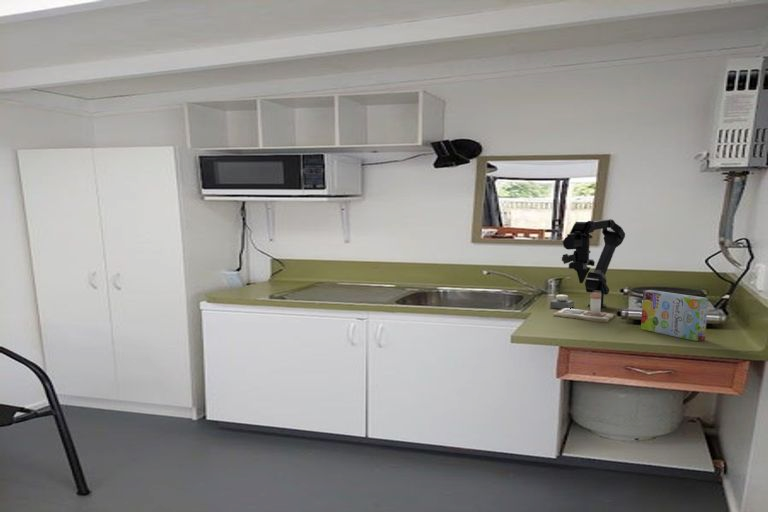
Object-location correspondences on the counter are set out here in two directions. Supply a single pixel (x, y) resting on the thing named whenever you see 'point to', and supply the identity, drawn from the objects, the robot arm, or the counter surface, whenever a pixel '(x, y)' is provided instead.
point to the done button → (562, 298)
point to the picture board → (584, 315)
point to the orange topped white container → (595, 303)
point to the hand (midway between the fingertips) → (581, 283)
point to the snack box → (674, 314)
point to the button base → (561, 304)
